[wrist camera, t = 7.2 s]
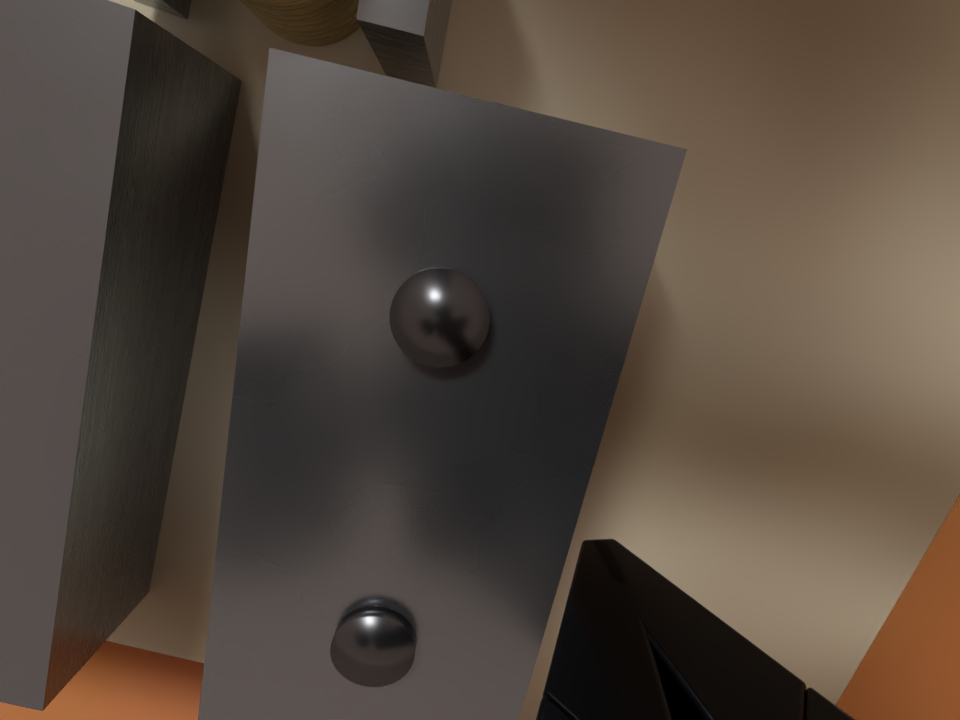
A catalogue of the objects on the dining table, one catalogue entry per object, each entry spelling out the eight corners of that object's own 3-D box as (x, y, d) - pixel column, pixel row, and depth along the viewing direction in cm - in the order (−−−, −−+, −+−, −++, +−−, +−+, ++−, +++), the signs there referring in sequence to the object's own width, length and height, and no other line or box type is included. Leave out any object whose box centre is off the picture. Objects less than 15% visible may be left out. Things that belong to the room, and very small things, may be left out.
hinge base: (401, -107, 7) (342, -392, 4) (235, 612, 10) (121, 797, 6) (-67, -284, 6) (-589, -785, 3) (-103, 531, 9) (-406, 689, 6)
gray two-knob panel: (679, -42, 7) (797, -196, 4) (491, 656, 10) (499, 802, 7) (364, -128, 7) (301, -345, 4) (263, 617, 9) (188, 756, 7)
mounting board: (-268, -623, 6) (-349, -715, 5) (1206, -4, 8) (1264, -22, 7) (-237, 531, 10) (-284, 551, 9) (765, 768, 11) (781, 796, 11)
